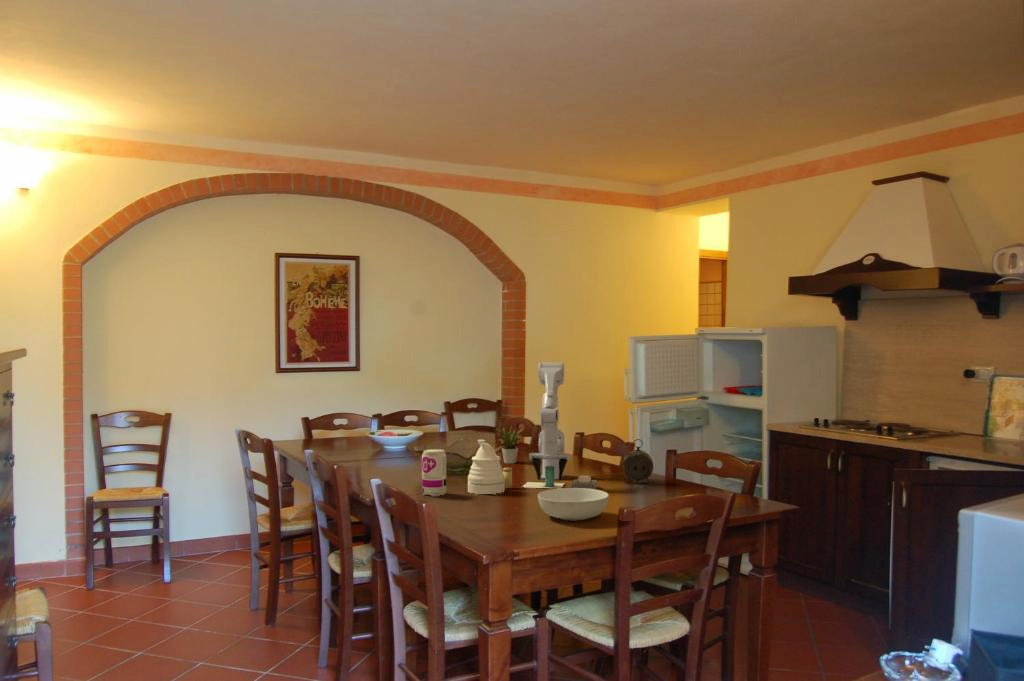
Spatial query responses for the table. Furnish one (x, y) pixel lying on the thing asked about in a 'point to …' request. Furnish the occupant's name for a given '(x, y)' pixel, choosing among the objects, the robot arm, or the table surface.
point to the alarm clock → (638, 465)
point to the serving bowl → (573, 503)
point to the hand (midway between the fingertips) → (549, 479)
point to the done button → (584, 479)
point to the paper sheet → (542, 485)
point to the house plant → (509, 446)
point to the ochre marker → (507, 477)
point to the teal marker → (549, 476)
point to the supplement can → (434, 472)
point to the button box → (585, 484)
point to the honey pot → (486, 472)
